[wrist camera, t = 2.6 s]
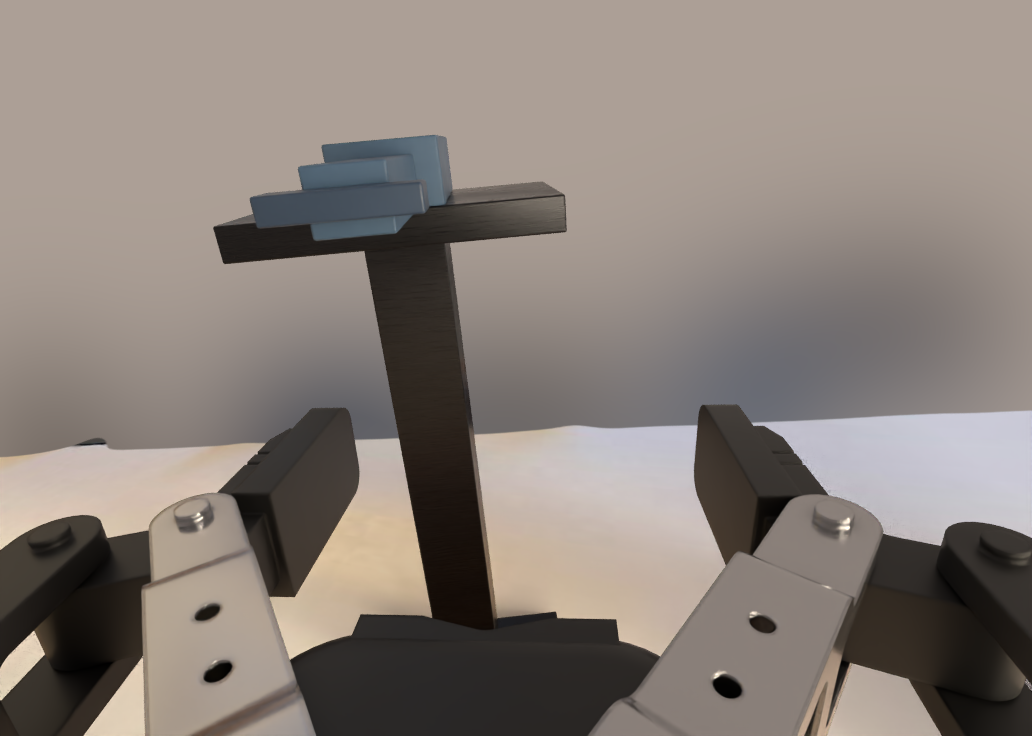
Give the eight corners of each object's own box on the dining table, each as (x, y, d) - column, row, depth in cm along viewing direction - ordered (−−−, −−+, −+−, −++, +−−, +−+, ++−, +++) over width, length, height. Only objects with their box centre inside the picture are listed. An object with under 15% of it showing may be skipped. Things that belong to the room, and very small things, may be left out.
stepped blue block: (429, 236, 15) (414, 130, 14) (261, 252, 14) (234, 146, 14) (455, 186, 31) (449, 137, 30) (376, 193, 31) (368, 144, 30)
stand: (589, 719, 34) (565, 194, 22) (360, 746, 34) (211, 226, 22) (569, 616, 41) (543, 181, 30) (381, 637, 41) (279, 205, 29)
